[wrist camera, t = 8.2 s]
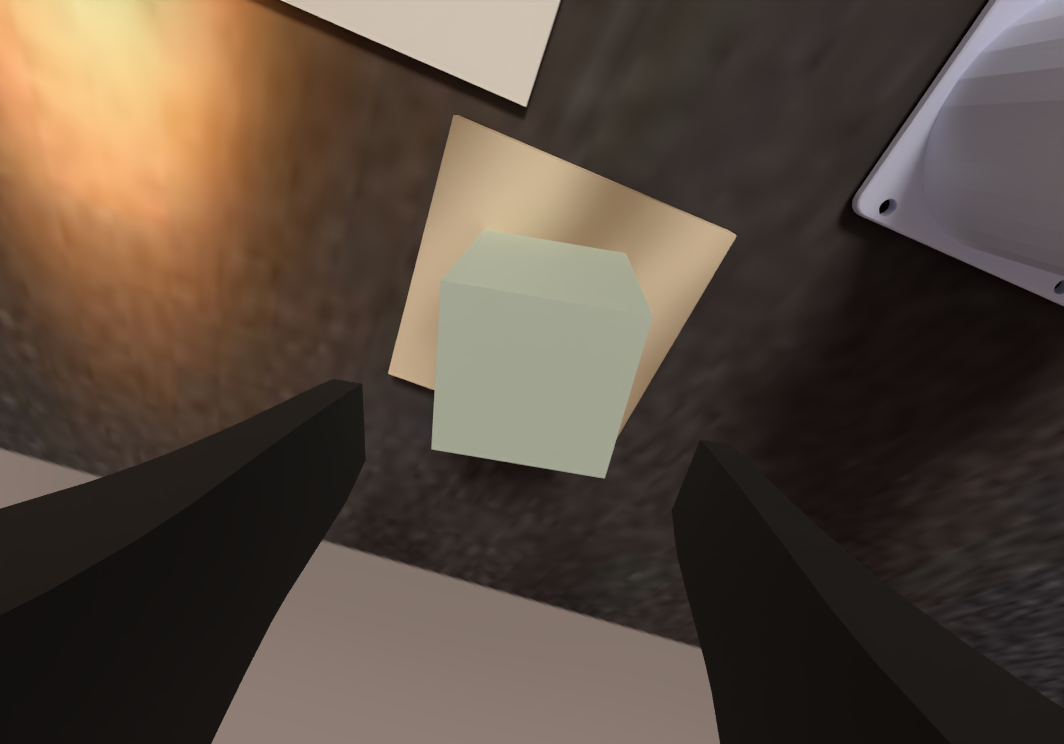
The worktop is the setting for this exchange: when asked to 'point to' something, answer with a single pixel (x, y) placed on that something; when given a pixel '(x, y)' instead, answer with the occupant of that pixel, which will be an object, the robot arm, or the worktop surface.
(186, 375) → the worktop surface
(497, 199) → the birch board
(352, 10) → the tile
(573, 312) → the sage block
